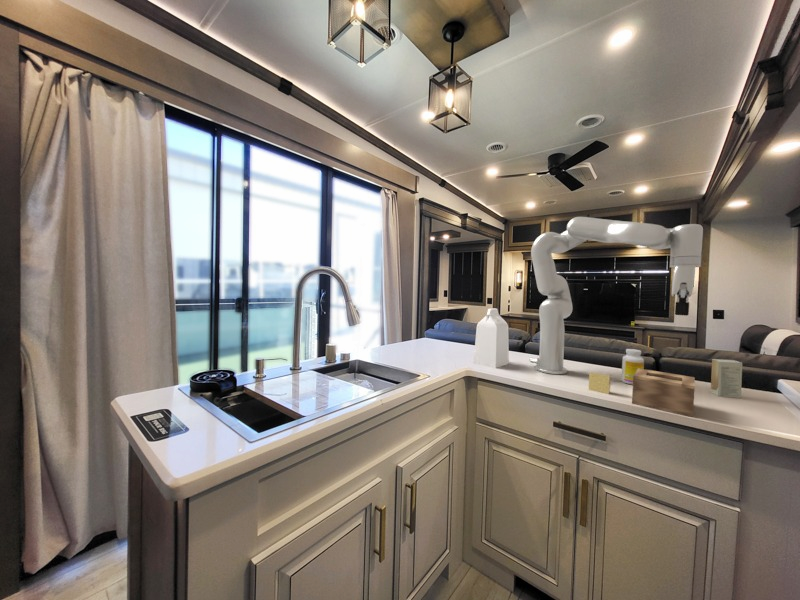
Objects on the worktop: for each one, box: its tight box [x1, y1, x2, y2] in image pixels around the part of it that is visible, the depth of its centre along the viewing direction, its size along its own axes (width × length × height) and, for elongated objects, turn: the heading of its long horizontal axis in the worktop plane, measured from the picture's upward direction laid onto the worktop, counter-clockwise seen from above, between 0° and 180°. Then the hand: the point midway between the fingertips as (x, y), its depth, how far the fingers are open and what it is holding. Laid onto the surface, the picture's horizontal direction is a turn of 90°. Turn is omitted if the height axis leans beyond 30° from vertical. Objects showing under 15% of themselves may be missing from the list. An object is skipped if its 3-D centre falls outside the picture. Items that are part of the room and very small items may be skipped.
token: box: [588, 371, 612, 395], centre depth 108 cm, size 6×2×6 cm, turn 46°
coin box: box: [631, 368, 696, 418], centre depth 96 cm, size 14×12×9 cm
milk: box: [473, 308, 510, 369], centre depth 144 cm, size 12×12×26 cm
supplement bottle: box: [621, 348, 645, 386], centre depth 117 cm, size 7×7×13 cm
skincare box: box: [710, 358, 743, 399], centre depth 105 cm, size 6×4×12 cm
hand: (681, 314), depth 102 cm, fingers open, 9 cm apart
